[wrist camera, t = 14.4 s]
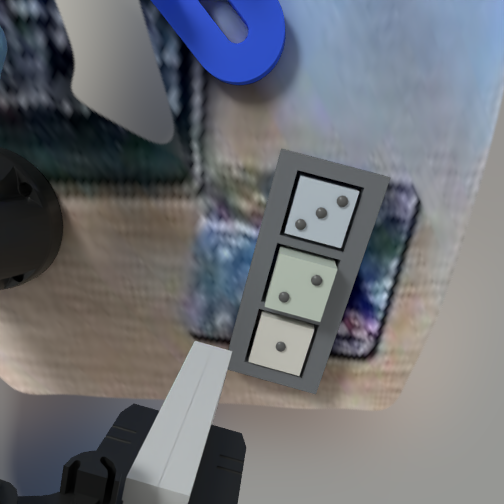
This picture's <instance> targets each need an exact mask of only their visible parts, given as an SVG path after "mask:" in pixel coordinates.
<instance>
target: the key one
mask: <svg viewBox="0 0 504 504" xmlns="http://www.w3.org/2000/svg"><path fill="white" fill-rule="evenodd" d="M313 333H314V324H313V323H309V322H305V321H302V320H298V319H295V318H291V317H287V316H284V315H280V314H276V313H273V312H269V311H265V310H262V311H261V314H260V318H259V321H258V325H257V328H256V332H255V336H254V339H253V343H252V346H251V351H250V356H249V361H248V362H251V363H254V364H258V365H261V366H265V367H269V368H272V369H276V370H279V371H283V372H286V373H290V374H294V375H297V376H299V375H300V372H301V369H302V366H303V363H304V360H305V357H306V354H307V351H308V348H309V345H310V342H311V339H312V336H313Z"/></svg>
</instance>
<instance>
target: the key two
mask: <svg viewBox="0 0 504 504" xmlns="http://www.w3.org/2000/svg"><path fill="white" fill-rule="evenodd" d="M336 272H337V266H336V263H335V260H334V259H333V258H329V257H325V256H322V255H318V254H314V253H311V252H307V251H303V250H299V249H296V248H292V247H288V246H285V245H280V248H279V252H278V256H277V259H276V263H275V266H274V270H273V273H272V277H271V280H270V284H269V288H268V291H267V295H266V301H265V306H264V307H267V308H270V309H274V310H278V311H281V312H285V313H289V314H292V315H296V316H300V317H303V318H307V319H311V320H314V321H318V322H320V321H321V318H322V315H323V312H324V309H325V306H326V303H327V300H328V297H329V294H330V291H331V288H332V285H333V282H334V279H335V275H336Z"/></svg>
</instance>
